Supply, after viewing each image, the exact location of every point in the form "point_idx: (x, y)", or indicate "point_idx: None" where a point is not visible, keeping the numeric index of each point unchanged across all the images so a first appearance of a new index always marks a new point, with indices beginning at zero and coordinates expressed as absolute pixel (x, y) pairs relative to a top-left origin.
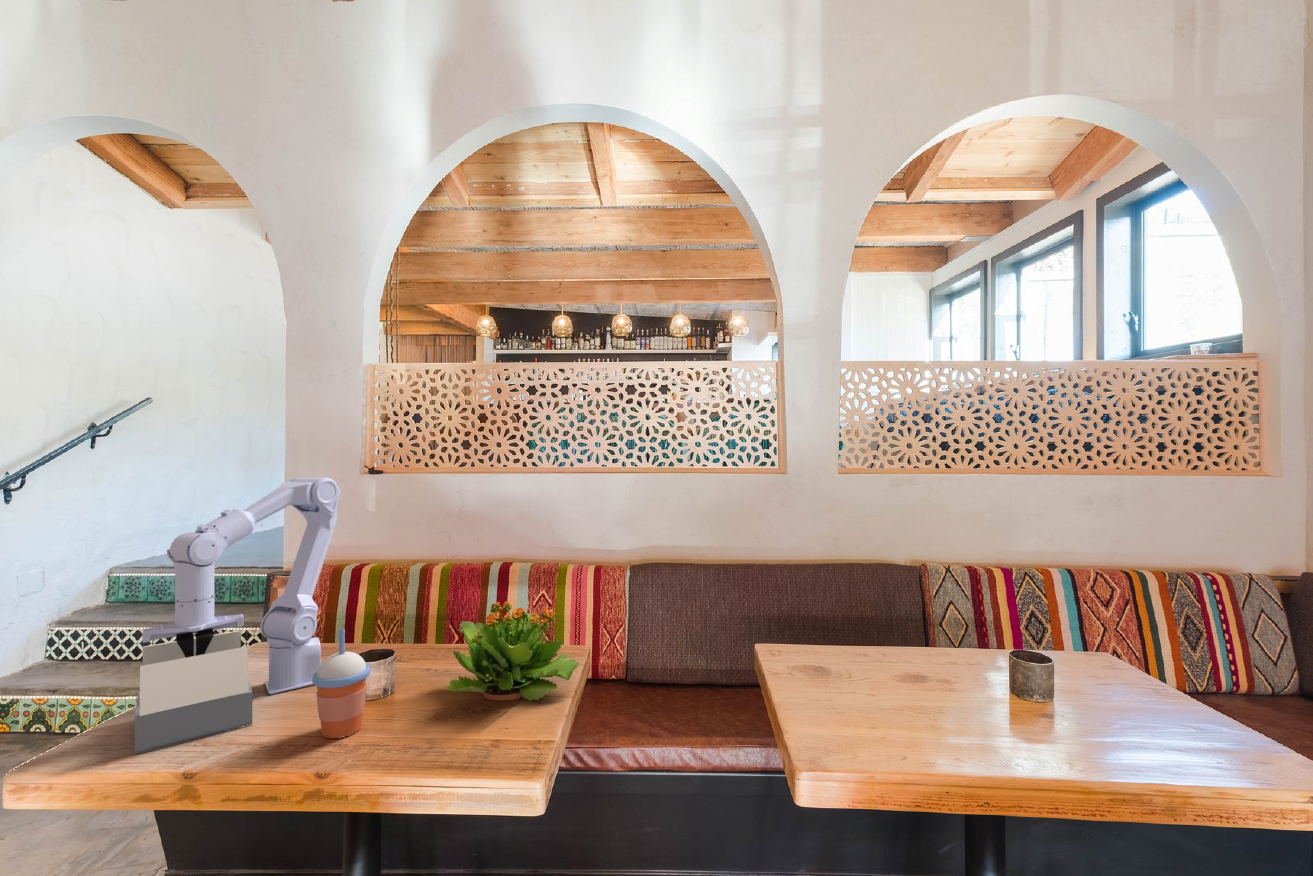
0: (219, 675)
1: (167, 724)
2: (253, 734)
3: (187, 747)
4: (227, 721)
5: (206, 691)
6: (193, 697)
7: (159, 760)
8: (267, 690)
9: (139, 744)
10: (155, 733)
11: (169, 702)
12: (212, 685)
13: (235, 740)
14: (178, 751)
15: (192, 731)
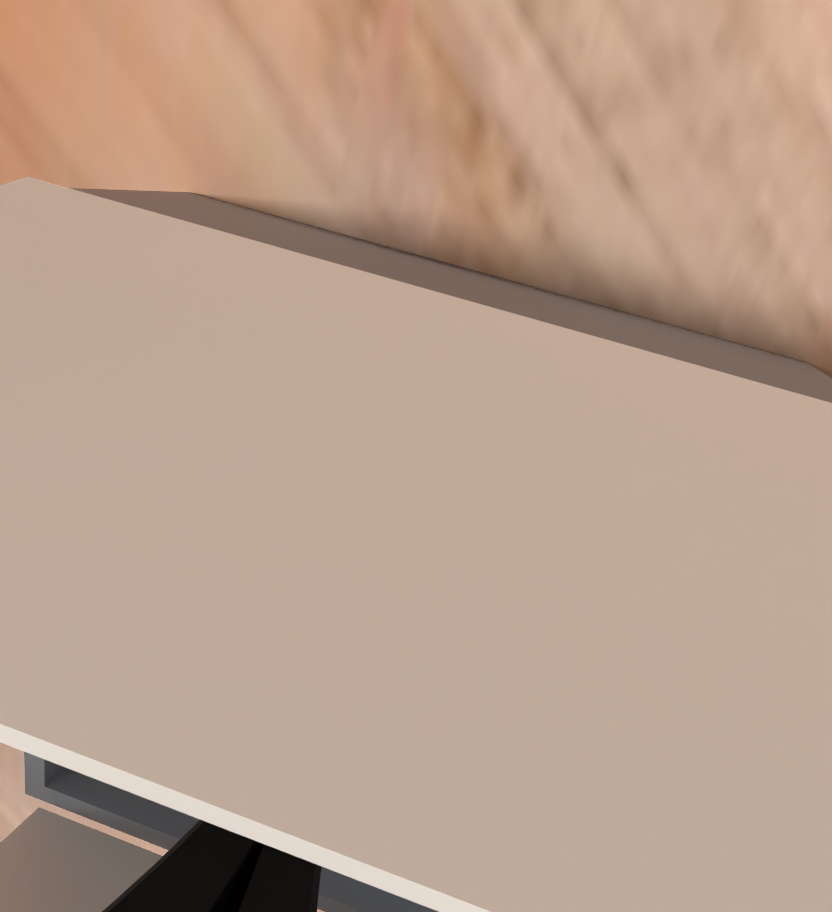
0: (102, 342)
1: (656, 347)
2: (215, 9)
3: (563, 186)
4: (293, 230)
5: (323, 313)
6: (454, 328)
7: (762, 113)
8: None
9: (806, 371)
10: (725, 357)
11: (674, 395)
12: (241, 319)
13: (322, 7)
14: (623, 167)
15: (498, 287)
